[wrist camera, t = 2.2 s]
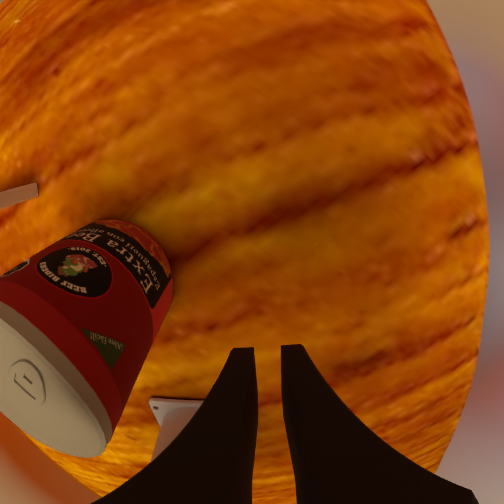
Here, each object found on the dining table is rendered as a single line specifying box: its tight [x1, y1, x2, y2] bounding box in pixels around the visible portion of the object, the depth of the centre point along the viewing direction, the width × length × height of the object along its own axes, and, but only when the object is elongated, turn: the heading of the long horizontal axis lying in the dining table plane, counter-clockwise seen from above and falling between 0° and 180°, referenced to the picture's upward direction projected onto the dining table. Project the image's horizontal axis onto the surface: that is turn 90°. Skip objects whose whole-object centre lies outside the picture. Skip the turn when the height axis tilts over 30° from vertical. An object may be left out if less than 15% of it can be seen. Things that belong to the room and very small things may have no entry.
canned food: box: [0, 219, 173, 457], centre depth 12 cm, size 8×8×11 cm
